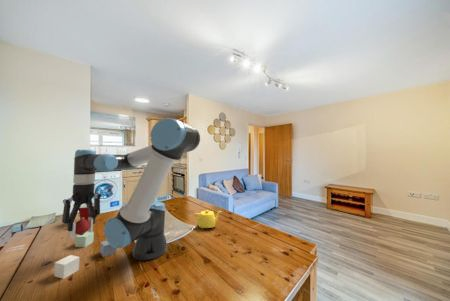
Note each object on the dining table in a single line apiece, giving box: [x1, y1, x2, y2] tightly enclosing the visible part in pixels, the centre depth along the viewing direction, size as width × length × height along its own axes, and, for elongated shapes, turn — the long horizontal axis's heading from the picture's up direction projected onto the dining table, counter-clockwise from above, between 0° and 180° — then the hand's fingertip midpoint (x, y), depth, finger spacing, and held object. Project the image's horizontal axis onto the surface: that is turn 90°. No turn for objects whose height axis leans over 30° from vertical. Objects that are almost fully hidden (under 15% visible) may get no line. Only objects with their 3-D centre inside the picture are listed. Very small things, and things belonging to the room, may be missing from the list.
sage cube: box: [74, 231, 95, 248], centre depth 83 cm, size 5×5×5 cm
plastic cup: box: [78, 202, 94, 220], centre depth 110 cm, size 11×11×12 cm
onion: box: [75, 217, 90, 236], centre depth 75 cm, size 6×6×8 cm
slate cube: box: [99, 240, 117, 258], centre depth 77 cm, size 5×5×5 cm
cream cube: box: [53, 254, 81, 280], centre depth 63 cm, size 5×5×5 cm
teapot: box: [194, 209, 222, 229], centre depth 109 cm, size 18×11×11 cm, turn 96°
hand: (81, 234), depth 74 cm, fingers closed on onion, 6 cm apart
